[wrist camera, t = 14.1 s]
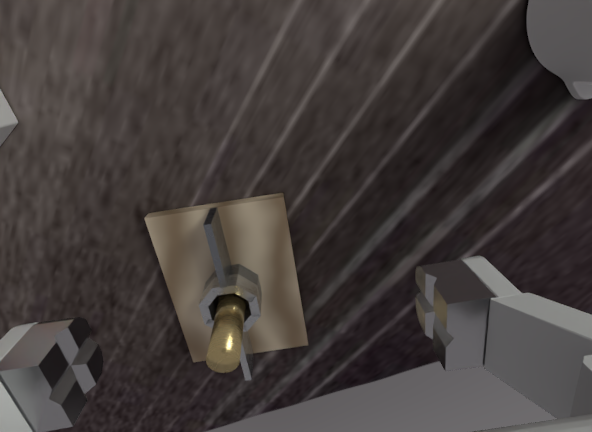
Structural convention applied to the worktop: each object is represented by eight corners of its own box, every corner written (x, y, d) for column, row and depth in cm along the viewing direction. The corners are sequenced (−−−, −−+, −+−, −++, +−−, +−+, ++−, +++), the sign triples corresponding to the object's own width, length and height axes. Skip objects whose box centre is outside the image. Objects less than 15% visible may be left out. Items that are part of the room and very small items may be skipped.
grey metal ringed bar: (242, 203, 42) (238, 219, 38) (274, 350, 51) (274, 376, 46) (185, 212, 42) (175, 229, 38) (227, 357, 51) (222, 384, 46)
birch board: (283, 192, 43) (283, 197, 42) (307, 337, 52) (308, 345, 50) (148, 213, 43) (144, 218, 42) (195, 354, 52) (193, 362, 51)
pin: (244, 274, 45) (235, 345, 34) (249, 295, 47) (242, 370, 36) (218, 279, 45) (202, 350, 34) (225, 299, 47) (210, 375, 36)
